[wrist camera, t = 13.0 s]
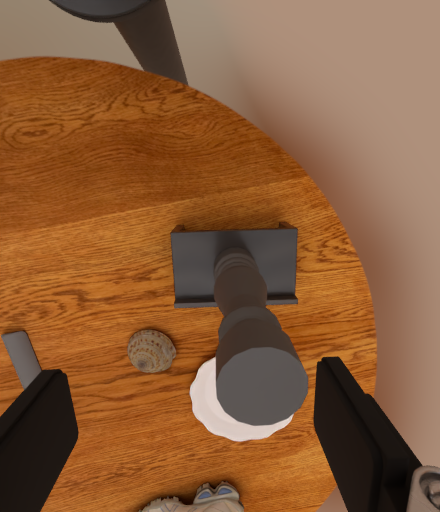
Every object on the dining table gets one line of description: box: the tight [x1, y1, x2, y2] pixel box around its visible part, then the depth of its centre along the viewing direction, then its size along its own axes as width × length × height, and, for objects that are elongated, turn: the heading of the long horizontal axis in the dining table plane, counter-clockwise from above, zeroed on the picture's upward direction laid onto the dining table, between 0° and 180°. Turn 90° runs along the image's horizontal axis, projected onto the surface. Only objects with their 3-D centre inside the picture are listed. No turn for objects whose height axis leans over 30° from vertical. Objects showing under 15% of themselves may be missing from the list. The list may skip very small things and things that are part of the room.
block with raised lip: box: [170, 222, 298, 308], centre depth 44 cm, size 11×18×8 cm, turn 92°
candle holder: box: [214, 247, 308, 426], centre depth 29 cm, size 6×6×25 cm
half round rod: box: [1, 331, 41, 390], centre depth 53 cm, size 4×20×2 cm, turn 11°
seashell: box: [128, 330, 176, 373], centre depth 51 cm, size 8×6×8 cm
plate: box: [190, 356, 293, 441], centre depth 54 cm, size 21×21×2 cm
